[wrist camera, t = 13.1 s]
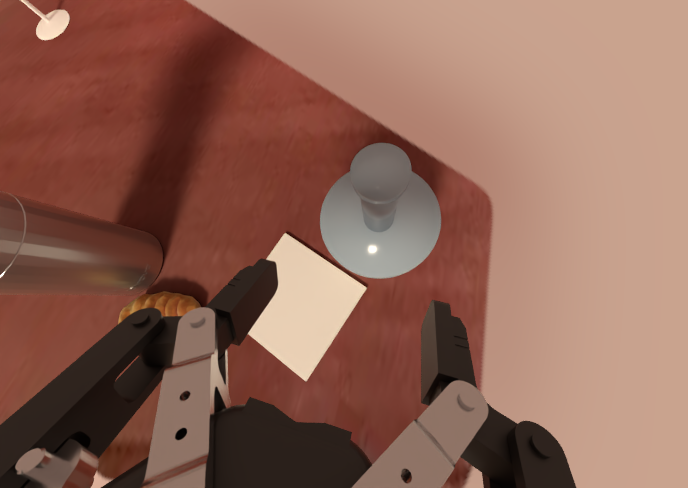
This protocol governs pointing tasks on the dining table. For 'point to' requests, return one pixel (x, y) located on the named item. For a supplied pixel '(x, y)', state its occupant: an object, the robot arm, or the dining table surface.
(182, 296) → the pastry
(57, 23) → the wineglass
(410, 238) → the lid
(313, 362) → the mat
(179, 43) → the dining table surface
